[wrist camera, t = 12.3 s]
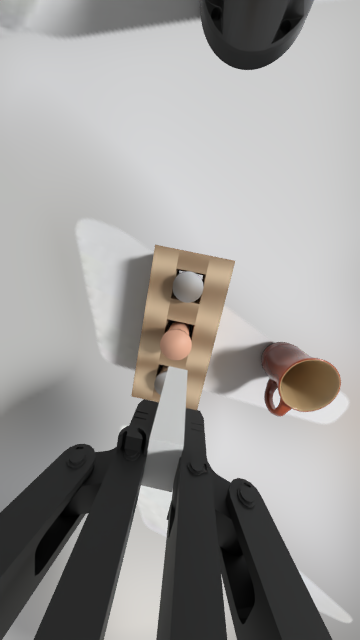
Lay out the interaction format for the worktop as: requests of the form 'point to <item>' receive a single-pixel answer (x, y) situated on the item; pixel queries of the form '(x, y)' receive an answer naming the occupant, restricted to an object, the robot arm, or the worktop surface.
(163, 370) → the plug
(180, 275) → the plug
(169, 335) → the plug mid
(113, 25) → the worktop surface
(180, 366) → the socket board
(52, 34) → the worktop surface
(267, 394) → the mug
